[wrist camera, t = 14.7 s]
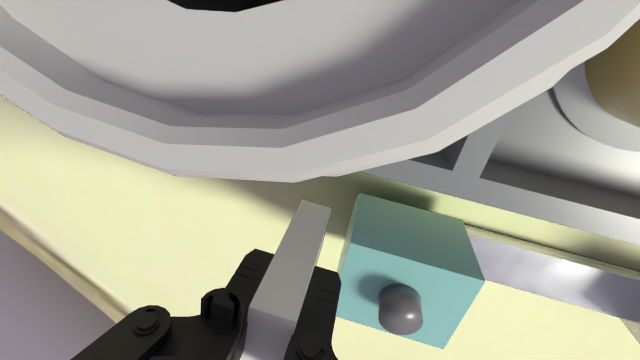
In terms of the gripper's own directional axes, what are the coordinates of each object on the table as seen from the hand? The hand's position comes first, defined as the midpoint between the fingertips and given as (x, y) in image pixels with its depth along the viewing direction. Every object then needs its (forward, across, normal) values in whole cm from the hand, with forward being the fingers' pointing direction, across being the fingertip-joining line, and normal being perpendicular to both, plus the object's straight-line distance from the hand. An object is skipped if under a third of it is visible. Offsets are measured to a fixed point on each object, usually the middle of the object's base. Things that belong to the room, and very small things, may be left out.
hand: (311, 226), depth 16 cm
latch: (+1, +4, 0) cm, 4 cm away
